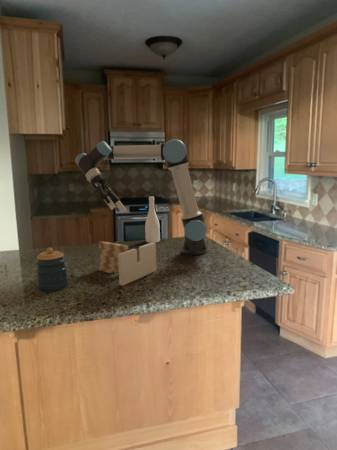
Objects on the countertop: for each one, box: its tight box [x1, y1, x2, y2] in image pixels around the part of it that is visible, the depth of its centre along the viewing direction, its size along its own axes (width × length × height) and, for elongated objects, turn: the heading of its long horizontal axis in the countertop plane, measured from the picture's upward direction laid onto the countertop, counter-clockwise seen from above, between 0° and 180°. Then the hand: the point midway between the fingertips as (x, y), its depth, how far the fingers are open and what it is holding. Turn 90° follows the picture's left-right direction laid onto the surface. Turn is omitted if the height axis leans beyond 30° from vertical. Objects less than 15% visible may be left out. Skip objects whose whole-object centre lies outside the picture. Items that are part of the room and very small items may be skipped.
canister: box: [34, 247, 69, 293], centre depth 149 cm, size 13×13×18 cm
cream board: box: [118, 242, 157, 286], centre depth 158 cm, size 24×2×14 cm, turn 144°
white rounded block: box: [144, 196, 161, 244], centre depth 226 cm, size 10×10×30 cm
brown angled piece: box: [98, 240, 129, 274], centre depth 167 cm, size 18×6×14 cm, turn 54°
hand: (119, 209), depth 175 cm, fingers open, 13 cm apart
